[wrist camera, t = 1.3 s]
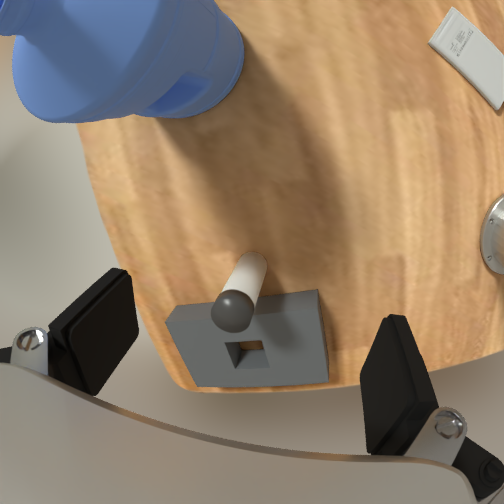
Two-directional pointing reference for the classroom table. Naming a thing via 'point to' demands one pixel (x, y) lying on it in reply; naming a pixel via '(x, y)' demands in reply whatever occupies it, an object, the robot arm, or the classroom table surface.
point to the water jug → (121, 57)
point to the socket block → (261, 328)
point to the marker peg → (240, 294)
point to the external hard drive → (471, 55)
